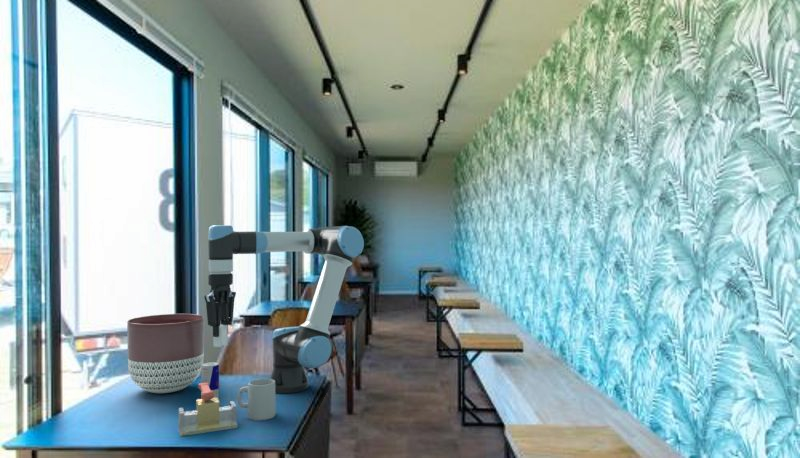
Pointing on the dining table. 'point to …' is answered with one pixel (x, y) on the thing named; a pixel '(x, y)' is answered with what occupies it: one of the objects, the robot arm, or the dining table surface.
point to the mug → (259, 399)
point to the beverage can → (211, 376)
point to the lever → (206, 391)
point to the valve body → (207, 417)
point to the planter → (165, 351)
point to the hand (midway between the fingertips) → (220, 345)
